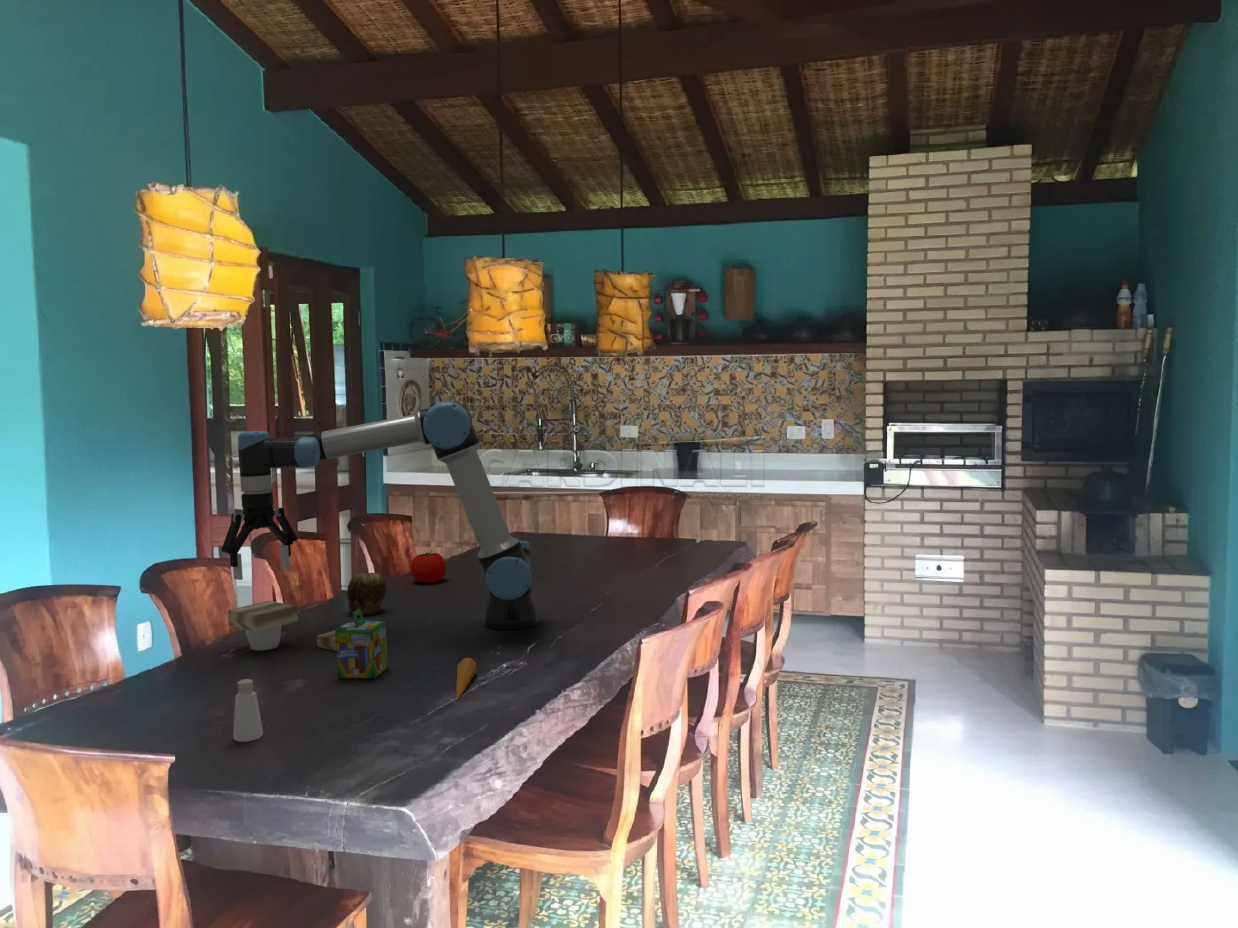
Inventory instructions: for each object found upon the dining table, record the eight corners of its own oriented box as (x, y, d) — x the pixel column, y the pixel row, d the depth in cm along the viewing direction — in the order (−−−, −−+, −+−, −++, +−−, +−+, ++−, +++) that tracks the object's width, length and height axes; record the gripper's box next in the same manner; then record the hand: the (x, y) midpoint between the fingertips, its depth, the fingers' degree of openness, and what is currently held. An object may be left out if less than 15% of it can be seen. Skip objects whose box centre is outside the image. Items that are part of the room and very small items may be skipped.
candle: (282, 650, 246) (281, 625, 245) (244, 653, 243) (243, 629, 243) (283, 641, 254) (282, 617, 254) (247, 644, 252) (246, 620, 251)
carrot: (463, 676, 224) (455, 659, 223) (481, 669, 224) (473, 652, 223) (451, 713, 204) (442, 695, 203) (471, 706, 204) (462, 687, 203)
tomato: (444, 577, 334) (443, 548, 333) (449, 584, 323) (448, 553, 322) (408, 580, 330) (407, 550, 329) (412, 587, 319) (411, 556, 318)
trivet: (368, 643, 250) (367, 632, 250) (339, 651, 243) (339, 640, 243) (345, 638, 255) (345, 627, 255) (317, 646, 248) (316, 635, 248)
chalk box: (374, 679, 219) (372, 615, 218) (336, 679, 221) (333, 615, 219) (389, 667, 229) (386, 606, 227) (352, 667, 230) (349, 605, 229)
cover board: (297, 621, 250) (297, 606, 249) (256, 631, 240) (256, 615, 240) (269, 615, 257) (269, 600, 256) (228, 625, 247) (228, 609, 247)
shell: (376, 617, 278) (375, 576, 277) (341, 616, 280) (339, 575, 279) (392, 609, 289) (391, 569, 288) (358, 608, 291) (357, 568, 290)
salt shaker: (226, 740, 183) (223, 683, 182) (247, 730, 188) (244, 675, 188) (249, 743, 182) (246, 686, 181) (269, 733, 187) (266, 677, 186)
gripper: (290, 486, 258) (295, 564, 260) (202, 497, 238) (208, 582, 239) (307, 487, 253) (312, 567, 255) (220, 498, 233) (226, 585, 235)
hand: (262, 574), depth 247 cm, fingers open, 13 cm apart
